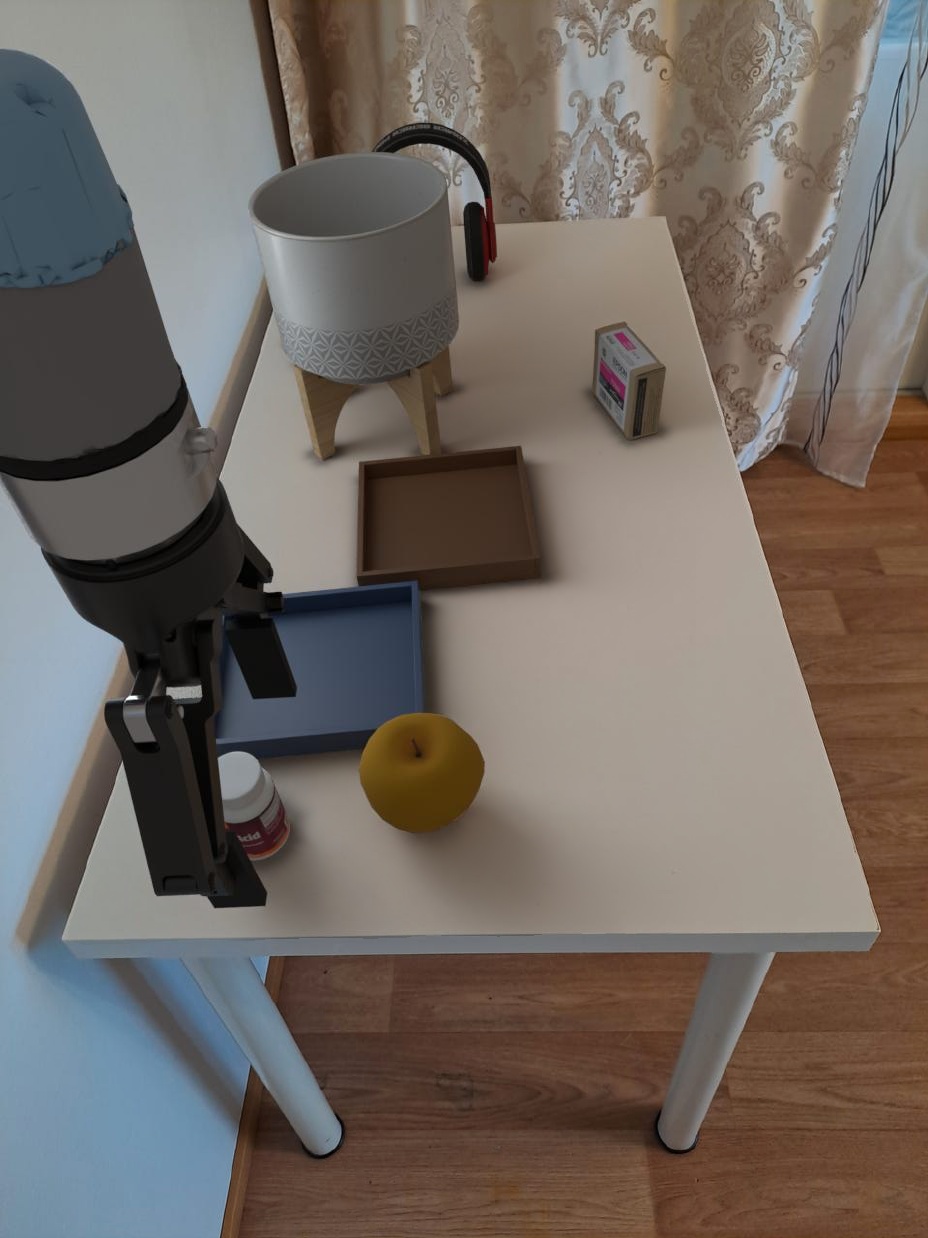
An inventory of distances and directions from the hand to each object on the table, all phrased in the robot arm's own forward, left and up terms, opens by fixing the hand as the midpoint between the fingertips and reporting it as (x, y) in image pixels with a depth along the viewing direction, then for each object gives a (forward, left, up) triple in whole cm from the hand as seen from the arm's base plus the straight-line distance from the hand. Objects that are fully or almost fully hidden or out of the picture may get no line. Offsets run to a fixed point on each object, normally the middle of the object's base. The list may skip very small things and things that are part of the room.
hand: (259, 788), depth 52 cm
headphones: (+12, +91, -17) cm, 93 cm away
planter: (+5, +59, -17) cm, 62 cm away
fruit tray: (-1, +22, -17) cm, 28 cm away
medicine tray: (+11, +40, -17) cm, 45 cm away
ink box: (+32, +56, -17) cm, 67 cm away
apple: (+8, +8, -17) cm, 21 cm away
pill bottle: (-5, +7, -17) cm, 19 cm away
